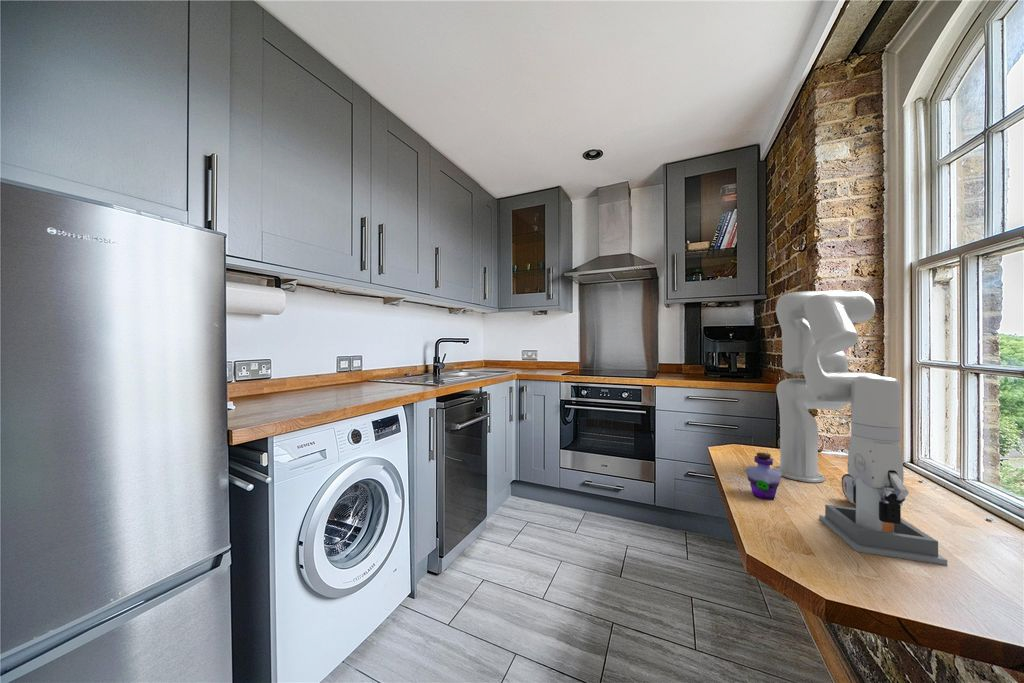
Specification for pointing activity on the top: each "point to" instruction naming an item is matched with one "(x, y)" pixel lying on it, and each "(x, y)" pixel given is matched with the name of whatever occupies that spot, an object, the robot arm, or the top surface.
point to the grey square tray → (882, 537)
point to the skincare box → (870, 508)
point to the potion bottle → (763, 477)
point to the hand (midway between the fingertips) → (875, 512)
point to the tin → (848, 487)
